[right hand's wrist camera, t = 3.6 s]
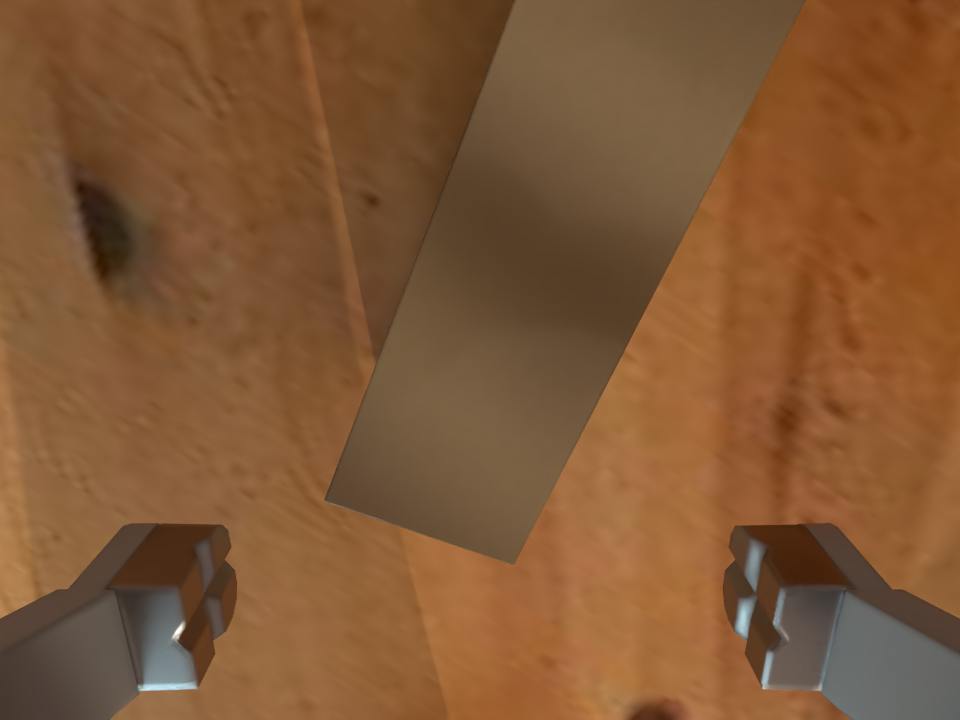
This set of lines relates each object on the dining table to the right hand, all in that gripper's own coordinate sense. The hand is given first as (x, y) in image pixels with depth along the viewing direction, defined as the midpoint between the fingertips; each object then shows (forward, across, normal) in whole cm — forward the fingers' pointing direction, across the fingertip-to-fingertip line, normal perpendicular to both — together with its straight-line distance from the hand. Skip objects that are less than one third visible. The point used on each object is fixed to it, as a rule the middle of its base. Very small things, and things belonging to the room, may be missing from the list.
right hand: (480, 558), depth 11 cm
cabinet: (+16, -2, -4) cm, 17 cm away
